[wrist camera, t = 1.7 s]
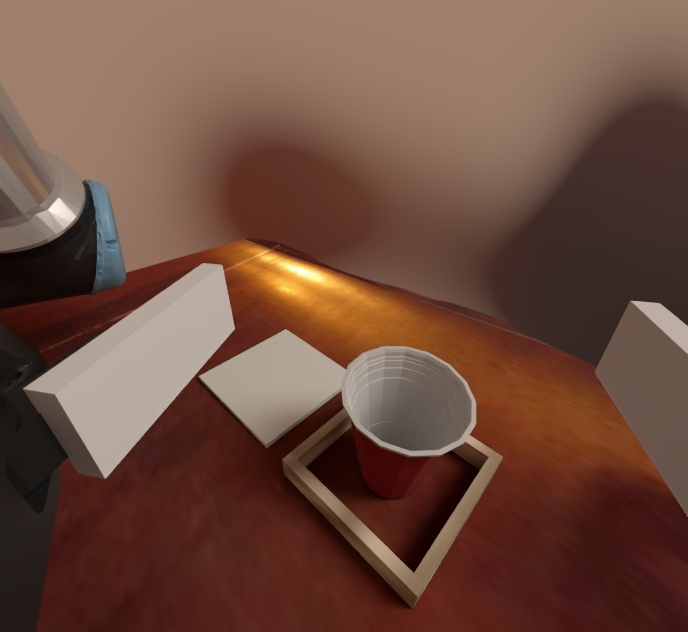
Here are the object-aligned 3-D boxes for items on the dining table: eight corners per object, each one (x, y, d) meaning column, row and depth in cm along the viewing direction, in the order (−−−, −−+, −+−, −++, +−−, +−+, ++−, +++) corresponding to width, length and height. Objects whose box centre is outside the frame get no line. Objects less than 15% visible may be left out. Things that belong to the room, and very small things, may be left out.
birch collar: (283, 474, 33) (282, 459, 32) (378, 392, 43) (380, 377, 41) (412, 609, 25) (417, 597, 24) (495, 471, 34) (503, 456, 33)
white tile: (199, 379, 43) (198, 376, 43) (286, 332, 52) (286, 329, 51) (266, 448, 36) (265, 445, 35) (355, 379, 44) (355, 376, 44)
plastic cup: (391, 561, 28) (413, 482, 21) (315, 463, 34) (313, 378, 28) (469, 482, 33) (508, 399, 26) (391, 411, 40) (405, 330, 33)
